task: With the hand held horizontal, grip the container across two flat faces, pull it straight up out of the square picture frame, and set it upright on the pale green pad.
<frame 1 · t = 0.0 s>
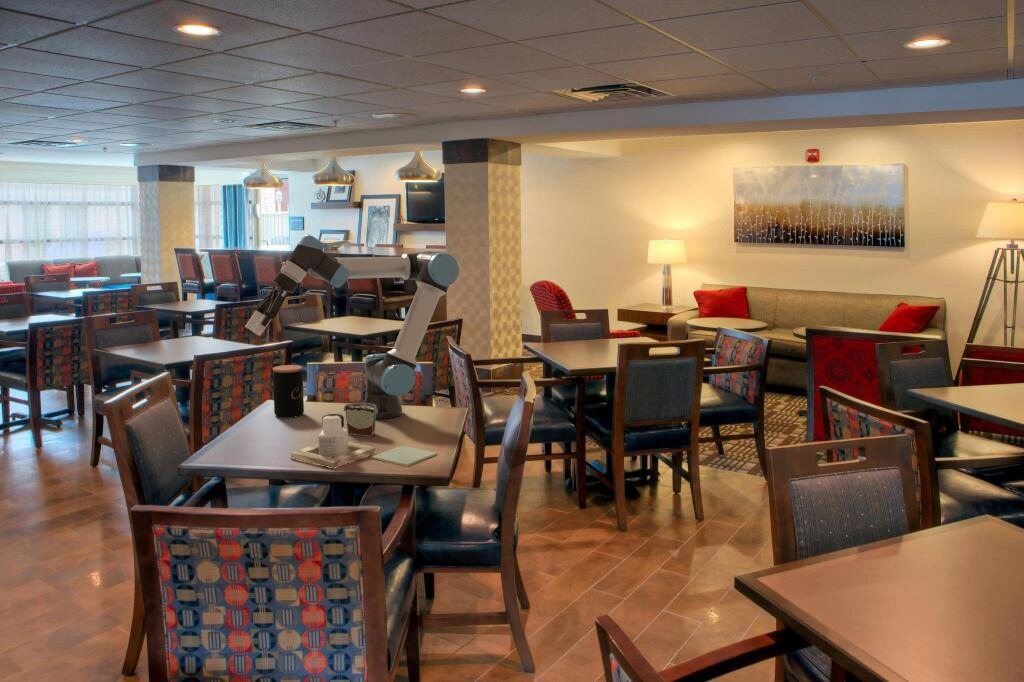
hand: (252, 331, 247), 36 cm above the table, tool tilted 35°, fingers open, 13 cm apart
coffee jar: (289, 415, 285), on the table
pad: (404, 456, 234), on the table
container: (333, 457, 234), resting in square picture frame
square picture frame: (333, 456, 234), on the table
food container: (364, 433, 260), on the table
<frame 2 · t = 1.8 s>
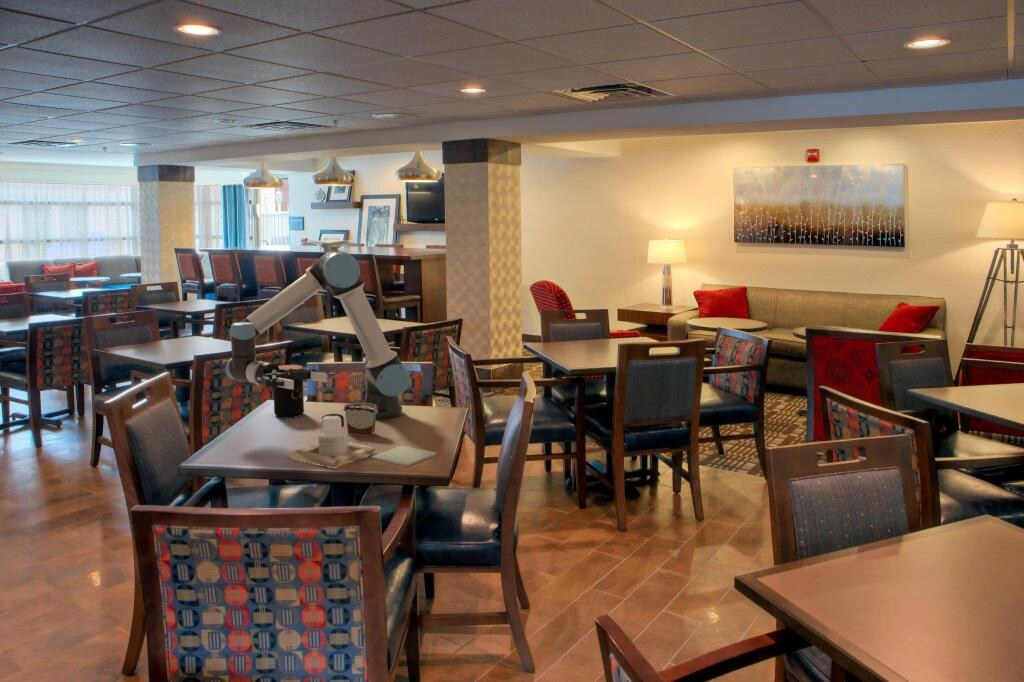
hand: (309, 381, 236), 22 cm above the table, tool horizontal, fingers open, 13 cm apart
nothing on the table moved.
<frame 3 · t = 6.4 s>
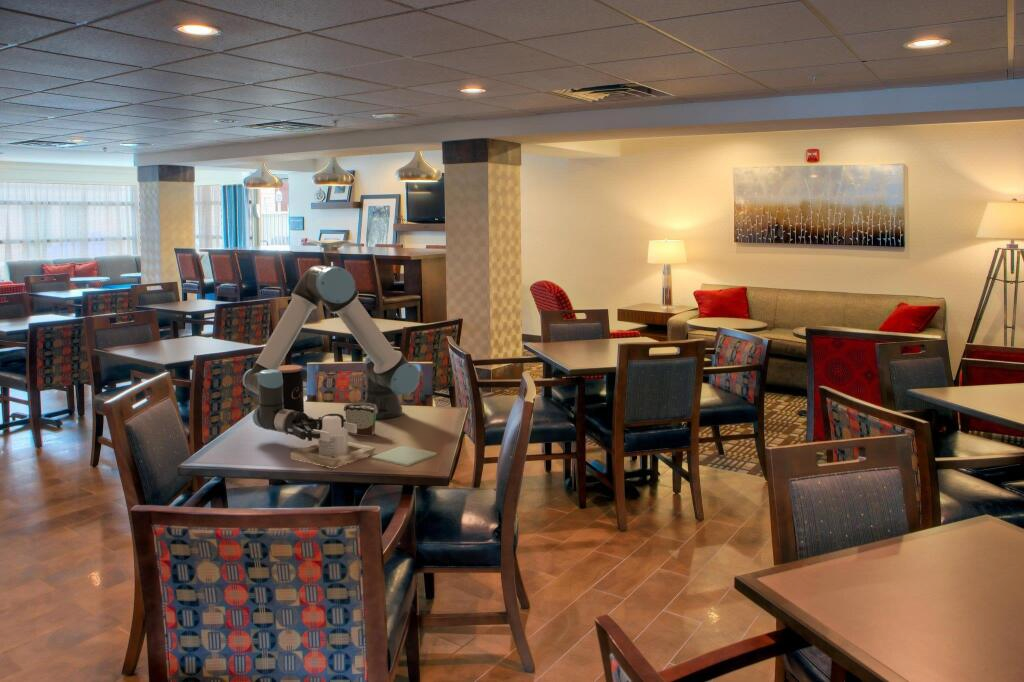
hand: (342, 432, 230), 8 cm above the table, tool horizontal, fingers closed on container, 10 cm apart
container: (333, 457, 234), resting in square picture frame, touching gripper
everything else where it was.
when the fingers open (10 cm above the table, at t = 12.3 s): container stays where it is, resting on pad.
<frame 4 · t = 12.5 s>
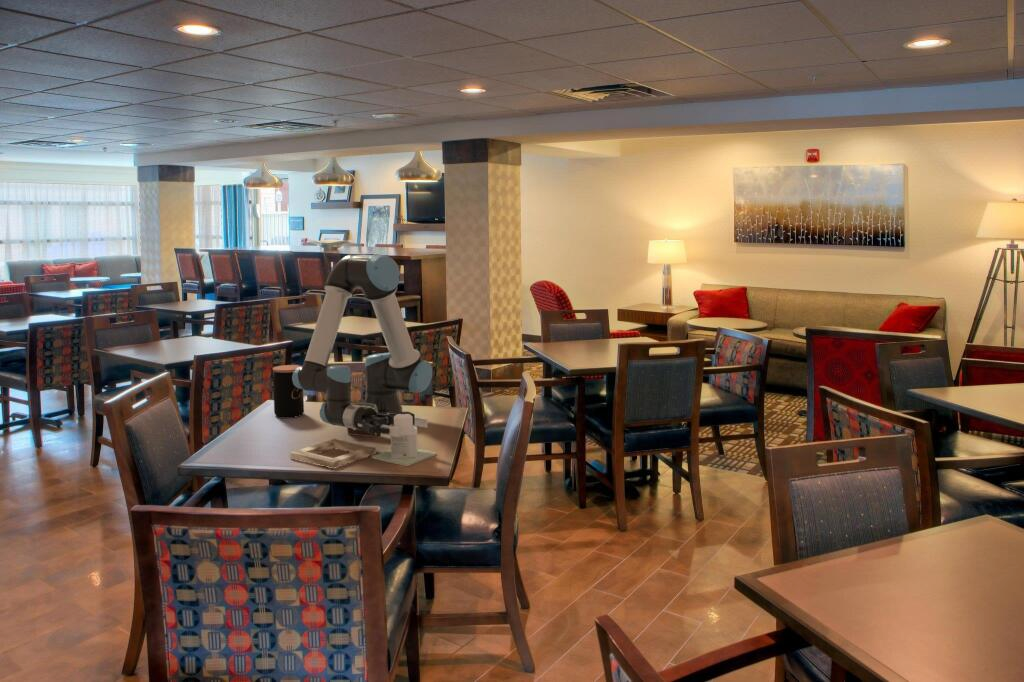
hand: (413, 427, 231), 10 cm above the table, tool horizontal, fingers open, 12 cm apart
container: (404, 454, 234), resting on pad
everything else where it was.
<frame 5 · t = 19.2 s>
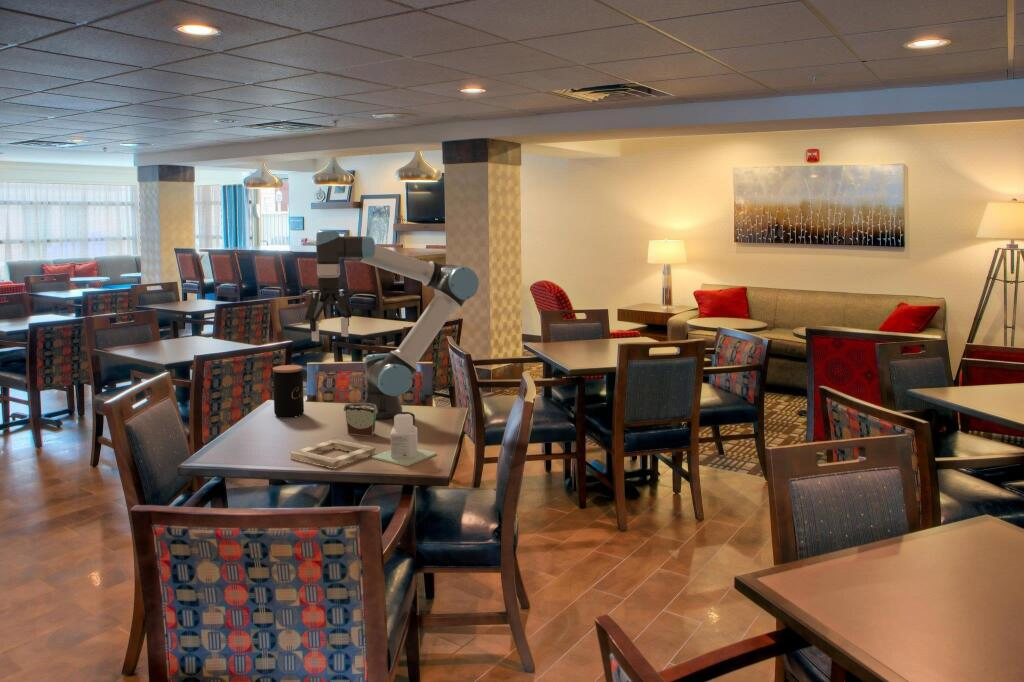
hand: (330, 338, 261), 32 cm above the table, tool pointing down, fingers open, 13 cm apart
nothing on the table moved.
at the end: container inside the target area on the pad (0.0 cm from its centre), point 0.4 cm above the pad's base; container tilted 0°; the gripper is holding nothing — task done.
